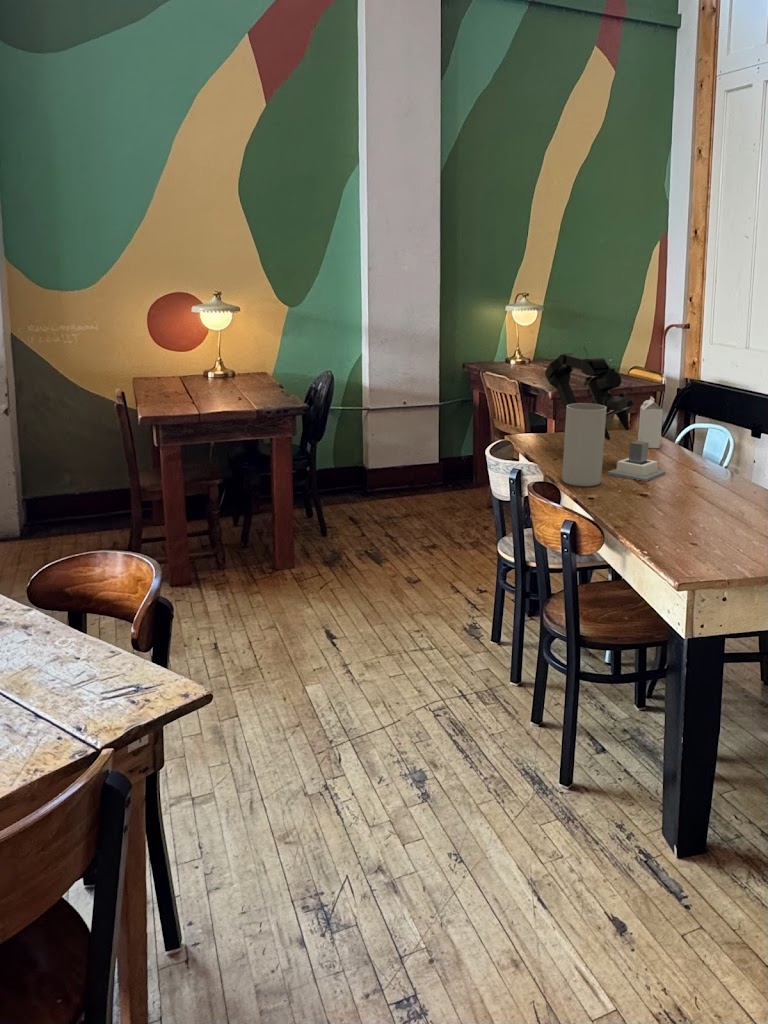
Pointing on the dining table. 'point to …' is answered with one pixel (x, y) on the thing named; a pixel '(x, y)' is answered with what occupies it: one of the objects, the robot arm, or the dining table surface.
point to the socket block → (637, 470)
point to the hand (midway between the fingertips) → (618, 434)
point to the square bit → (638, 452)
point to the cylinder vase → (584, 444)
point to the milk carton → (650, 423)
